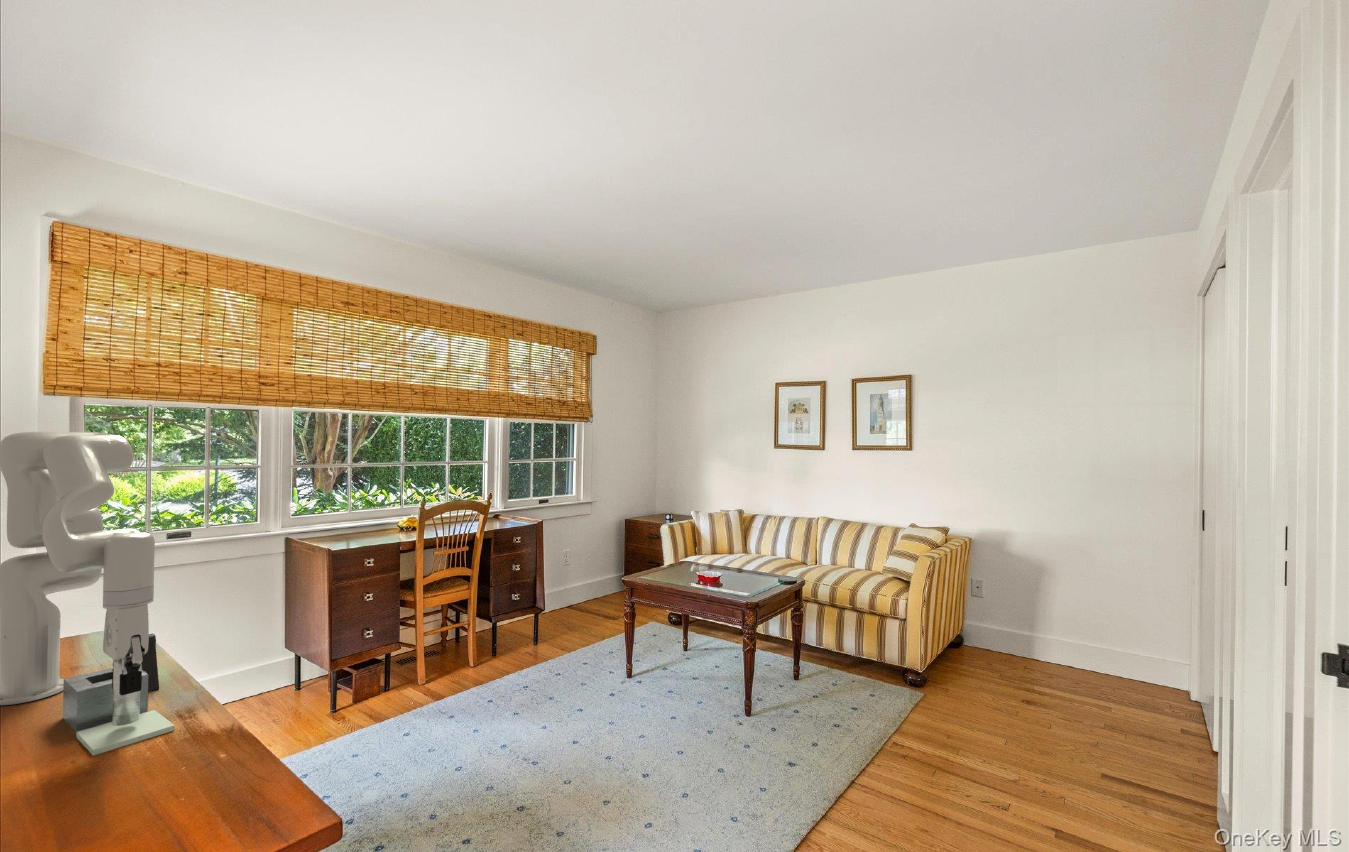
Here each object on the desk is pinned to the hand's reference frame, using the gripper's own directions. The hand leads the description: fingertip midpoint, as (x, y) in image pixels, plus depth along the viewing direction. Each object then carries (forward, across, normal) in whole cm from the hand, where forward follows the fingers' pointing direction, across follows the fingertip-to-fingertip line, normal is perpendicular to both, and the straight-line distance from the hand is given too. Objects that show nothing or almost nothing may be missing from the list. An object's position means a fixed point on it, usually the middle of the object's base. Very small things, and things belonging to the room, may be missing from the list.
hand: (126, 688), depth 121 cm
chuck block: (+9, -14, 0) cm, 16 cm away
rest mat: (+9, 0, 0) cm, 9 cm away
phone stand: (+9, -26, +8) cm, 29 cm away
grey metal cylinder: (+6, 0, 0) cm, 6 cm away
